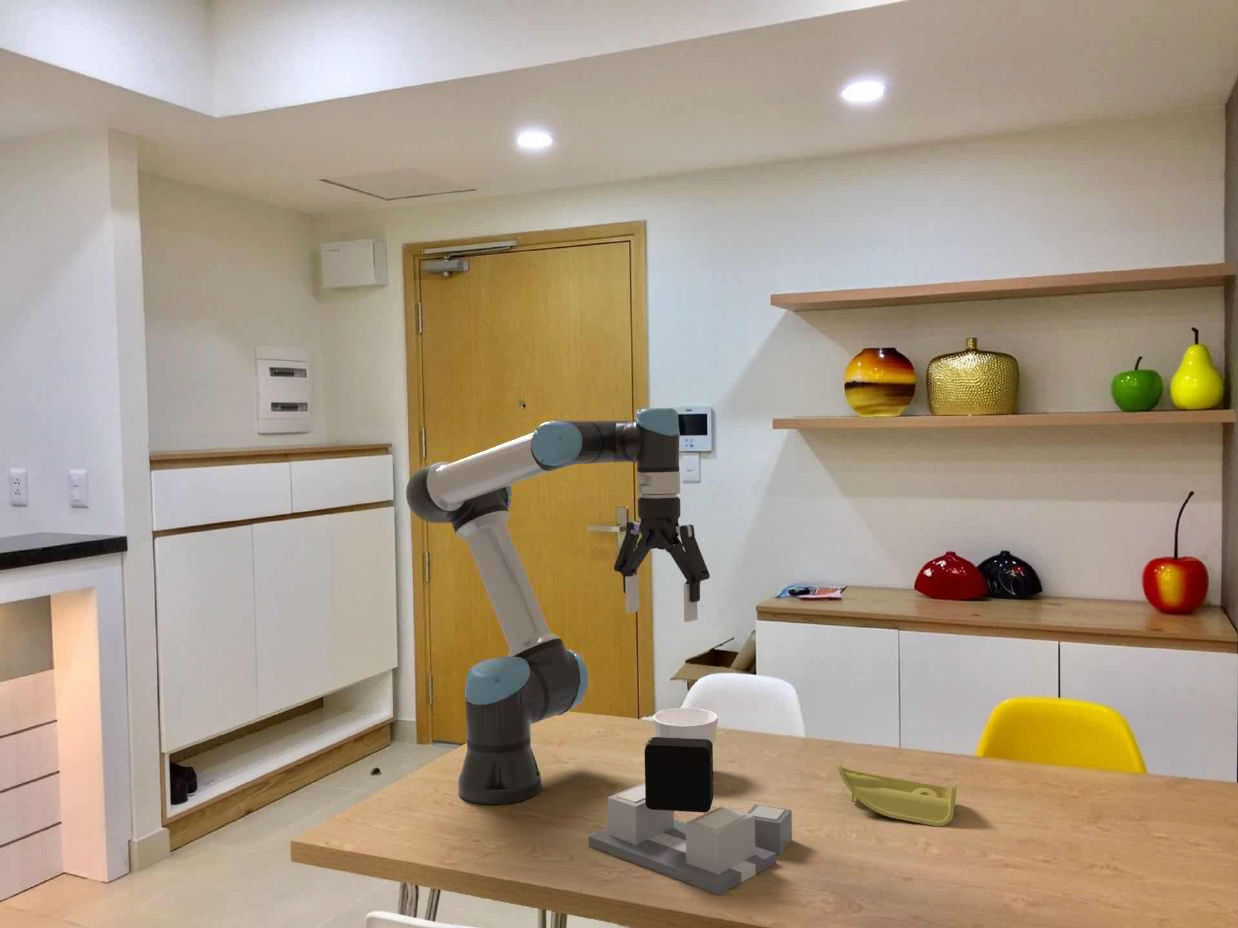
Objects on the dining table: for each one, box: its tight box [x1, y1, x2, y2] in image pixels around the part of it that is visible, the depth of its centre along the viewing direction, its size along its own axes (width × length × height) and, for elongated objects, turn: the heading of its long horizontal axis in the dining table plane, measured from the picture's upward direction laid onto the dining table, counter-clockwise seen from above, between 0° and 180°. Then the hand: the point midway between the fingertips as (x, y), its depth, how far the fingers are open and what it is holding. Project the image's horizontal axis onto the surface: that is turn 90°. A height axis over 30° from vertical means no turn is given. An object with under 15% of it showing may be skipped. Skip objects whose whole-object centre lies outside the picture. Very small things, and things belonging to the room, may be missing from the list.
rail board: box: [587, 782, 777, 896], centre depth 156 cm, size 26×14×8 cm, turn 47°
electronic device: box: [644, 736, 714, 814], centre depth 155 cm, size 4×10×10 cm, turn 78°
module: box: [747, 804, 793, 856], centre depth 159 cm, size 6×6×5 cm
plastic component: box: [836, 762, 957, 827], centre depth 173 cm, size 20×7×10 cm
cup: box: [652, 707, 719, 746], centre depth 192 cm, size 12×12×11 cm
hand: (660, 616), depth 178 cm, fingers open, 13 cm apart
